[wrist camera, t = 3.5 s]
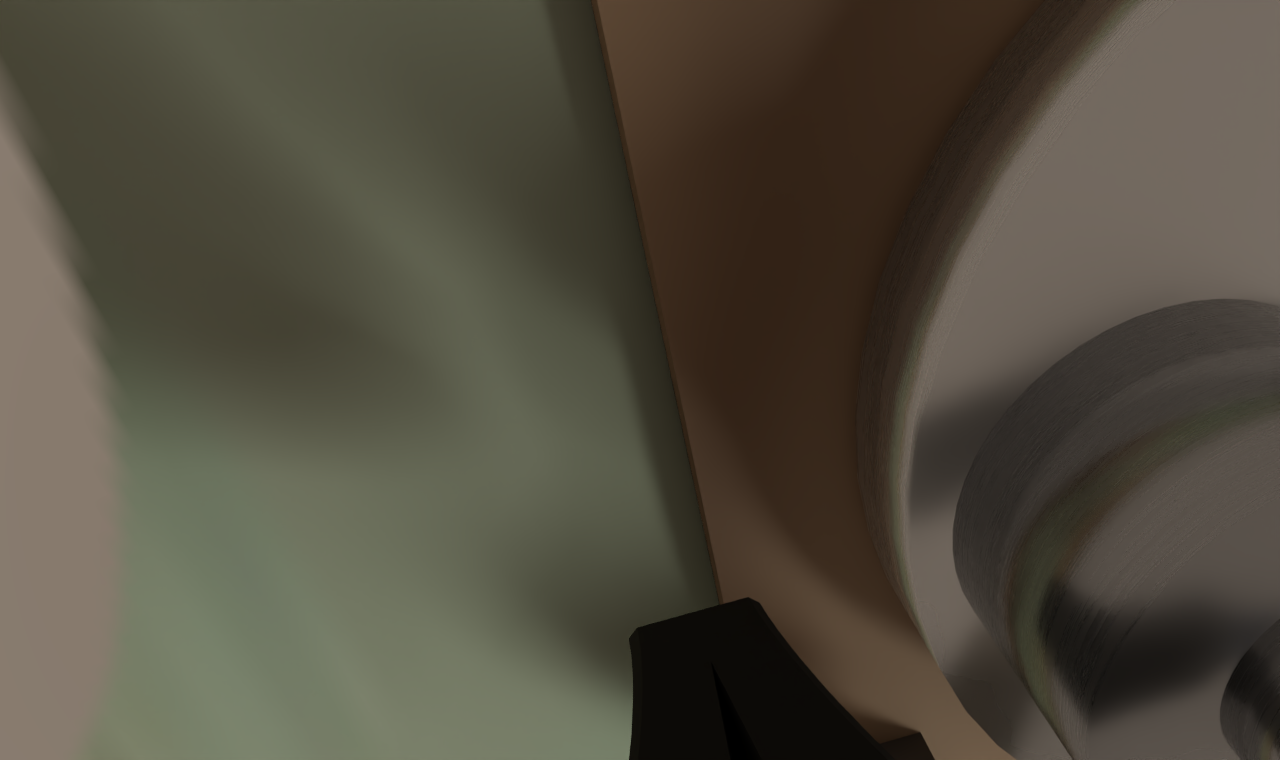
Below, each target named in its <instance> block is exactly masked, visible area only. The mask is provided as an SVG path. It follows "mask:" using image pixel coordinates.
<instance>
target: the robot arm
mask: <svg viewBox="0 0 1280 760" xmlns="http://www.w3.org/2000/svg"><path fill="white" fill-rule="evenodd" d="M629 643H630V649H631V655H632V668H633V715H632V736H631V746H630V756H629V760H895V759H894V758H893V757H892V756H891V755H890V754H889V753H888V752H887V751H886V750H885V749H884V748H883V747H882V746H881V745H880V744H879V743H878V742H877V741H876V740H875V739H874V738H873V737H872V736H871V735H870V734H869V733H868V732H867V731H866V730H865V729H864V728H863V727H862V726H861V725H860V724H859V722H858V721H857V720H856V719H855V718H854V717H853V716H852V715H851V714H850V713H849V712H848V711H847V710H846V709H845V708H844V707H843V706H842V705H841V704H840V703H839V702H838V701H837V700H836V699H835V697H834V696H833V695H832V694H831V693H830V692H829V691H828V690H827V689H826V688H825V686H824V685H823V684H822V683H821V682H820V681H819V680H818V678H817V677H816V676H815V675H814V674H813V673H812V671H811V670H810V669H809V668H808V667H807V666H806V664H805V663H804V662H803V661H802V660H801V658H800V657H799V656H798V655H797V654H796V652H795V651H794V650H793V649H792V647H791V646H790V645H789V644H788V642H787V641H786V640H785V638H784V637H783V636H782V634H781V633H780V632H779V631H778V629H777V628H776V626H775V625H774V624H773V622H772V621H771V619H770V618H769V616H768V615H767V613H766V612H765V610H764V609H763V607H762V606H761V604H760V603H759V602H757V601H755V600H753V599H751V598H749V597H746V598H743V599H739V600H735V601H732V602H728V603H725V604H721V605H717V606H714V607H710V608H707V609H703V610H699V611H696V612H692V613H689V614H685V615H681V616H678V617H674V618H671V619H667V620H664V621H660V622H656V623H653V624H649V625H646V626H642V627H638V628H637V629H636V630H635V631H634V633H633V634H632V635H631V637H630V638H629Z"/></svg>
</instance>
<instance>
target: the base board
mask: <svg viewBox="0 0 1280 760" xmlns="http://www.w3.org/2000/svg"><path fill="white" fill-rule="evenodd" d="M1044 1H1045V0H591V2H592V7H593V12H594V16H595V21H596V26H597V30H598V35H599V40H600V45H601V49H602V54H603V59H604V63H605V68H606V73H607V77H608V82H609V87H610V92H611V96H612V101H613V106H614V110H615V115H616V120H617V124H618V129H619V134H620V139H621V143H622V148H623V153H624V157H625V162H626V167H627V171H628V176H629V181H630V185H631V190H632V195H633V200H634V204H635V209H636V214H637V218H638V223H639V228H640V232H641V237H642V242H643V247H644V251H645V256H646V261H647V265H648V270H649V275H650V279H651V284H652V289H653V294H654V298H655V303H656V308H657V312H658V317H659V322H660V326H661V331H662V336H663V340H664V345H665V350H666V355H667V359H668V364H669V369H670V373H671V378H672V383H673V387H674V392H675V397H676V402H677V406H678V411H679V416H680V420H681V425H682V430H683V434H684V439H685V444H686V449H687V453H688V458H689V463H690V467H691V472H692V477H693V481H694V486H695V491H696V495H697V500H698V505H699V510H700V514H701V519H702V524H703V528H704V533H705V538H706V542H707V547H708V552H709V557H710V561H711V566H712V571H713V575H714V580H715V585H716V589H717V594H718V599H719V604H720V605H721V604H725V603H728V602H732V601H735V600H739V599H743V598H746V597H749V598H751V599H753V600H755V601H757V602H759V603H760V604H761V606H762V607H763V609H764V610H765V612H766V613H767V615H768V616H769V618H770V619H771V621H772V622H773V624H774V625H775V626H776V628H777V629H778V631H779V632H780V633H781V634H782V636H783V637H784V638H785V640H786V641H787V642H788V644H789V645H790V646H791V647H792V649H793V650H794V651H795V652H796V654H797V655H798V656H799V657H800V658H801V660H802V661H803V662H804V663H805V664H806V666H807V667H808V668H809V669H810V670H811V671H812V673H813V674H814V675H815V676H816V677H817V678H818V680H819V681H820V682H821V683H822V684H823V685H824V686H825V688H826V689H827V690H828V691H829V692H830V693H831V694H832V695H833V696H834V697H835V699H836V700H837V701H838V702H839V703H840V704H841V705H842V706H843V707H844V708H845V709H846V710H847V711H848V712H849V713H850V714H851V715H852V716H853V717H854V718H855V719H856V720H857V721H858V722H859V724H860V725H861V726H862V727H863V728H864V729H865V730H866V731H867V732H868V733H869V734H870V735H871V736H872V737H873V738H874V739H875V740H876V741H877V742H878V743H879V744H880V745H881V746H882V747H883V748H884V749H885V750H886V751H887V752H888V753H889V754H890V755H891V756H892V757H893V758H894V759H895V760H1017V759H1015V758H1014V757H1012V756H1011V755H1010V754H1008V753H1007V752H1006V751H1004V750H1003V749H1002V748H1000V747H999V746H998V745H997V744H996V743H995V742H994V741H993V740H992V739H991V738H990V737H989V735H988V734H987V733H986V732H985V731H984V730H983V729H982V728H981V727H980V726H979V725H978V724H977V722H976V721H975V720H974V719H973V718H972V717H971V716H970V715H969V714H968V713H967V712H966V710H965V709H964V707H963V705H962V704H961V702H960V701H959V699H958V697H957V696H956V694H955V692H954V691H953V689H952V688H951V686H950V684H949V683H948V681H947V679H946V678H945V676H944V675H943V673H942V671H941V670H940V668H939V666H938V665H937V663H936V661H935V659H934V658H933V656H932V654H931V653H930V651H929V649H928V647H927V646H926V644H925V642H924V641H923V639H922V637H921V635H920V634H919V632H918V630H917V629H916V627H915V625H914V623H913V622H912V620H911V618H910V617H909V615H908V613H907V611H906V610H905V608H904V606H903V605H902V603H901V601H900V599H899V598H898V596H897V594H896V593H895V591H894V589H893V587H892V586H891V584H890V582H889V581H888V579H887V577H886V574H885V572H884V569H883V567H882V564H881V562H880V559H879V556H878V554H877V551H876V549H875V546H874V544H873V541H872V538H871V536H870V533H869V531H868V526H867V521H866V517H865V512H864V507H863V502H862V497H861V492H860V487H859V482H858V477H857V454H856V429H855V412H856V403H857V393H858V384H859V375H860V365H861V356H862V349H863V345H864V341H865V337H866V333H867V329H868V325H869V321H870V317H871V313H872V309H873V305H874V301H875V296H876V292H877V288H878V284H879V281H880V278H881V276H882V273H883V270H884V268H885V265H886V262H887V260H888V257H889V255H890V252H891V249H892V247H893V244H894V241H895V239H896V236H897V234H898V231H899V228H900V226H901V223H902V221H903V218H904V215H905V213H906V210H907V208H908V206H909V204H910V202H911V200H912V198H913V196H914V194H915V192H916V191H917V189H918V187H919V185H920V183H921V181H922V179H923V177H924V175H925V173H926V171H927V169H928V167H929V166H930V164H931V162H932V160H933V158H934V156H935V154H936V152H937V150H938V148H939V146H940V144H941V142H942V140H943V139H944V137H945V135H946V133H947V132H948V130H949V129H950V127H951V126H952V124H953V123H954V121H955V120H956V118H957V117H958V115H959V114H960V112H961V111H962V109H963V108H964V106H965V105H966V103H967V102H968V100H969V99H970V97H971V96H972V94H973V93H974V91H975V90H976V88H977V87H978V85H979V84H980V82H981V81H982V79H983V78H984V76H985V75H986V73H987V72H988V70H989V69H990V67H991V66H992V64H993V63H994V61H995V60H996V59H997V57H998V56H999V55H1000V54H1001V52H1002V51H1003V50H1004V49H1005V48H1006V46H1007V45H1008V44H1009V43H1010V42H1011V40H1012V39H1013V38H1014V37H1015V36H1016V34H1017V33H1018V32H1019V31H1020V30H1021V28H1022V27H1023V26H1024V25H1025V24H1026V22H1027V21H1028V20H1029V19H1030V18H1031V16H1032V15H1033V14H1034V13H1035V12H1036V10H1037V9H1038V8H1039V7H1040V6H1041V4H1042V3H1043V2H1044Z"/></svg>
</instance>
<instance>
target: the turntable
mask: <svg viewBox="0 0 1280 760" xmlns="http://www.w3.org/2000/svg"><path fill="white" fill-rule="evenodd" d="M1211 299H1241V300H1252V301H1257V302H1262V303H1267V304H1272V305H1275V306H1278V307H1280V0H1045V1H1044V2H1043V3H1042V4H1041V6H1040V7H1039V8H1038V9H1037V10H1036V12H1035V13H1034V14H1033V15H1032V16H1031V18H1030V19H1029V20H1028V21H1027V22H1026V24H1025V25H1024V26H1023V27H1022V28H1021V30H1020V31H1019V32H1018V33H1017V34H1016V36H1015V37H1014V38H1013V39H1012V40H1011V42H1010V43H1009V44H1008V45H1007V46H1006V48H1005V49H1004V50H1003V51H1002V52H1001V54H1000V55H999V56H998V57H997V59H996V60H995V61H994V63H993V64H992V66H991V67H990V69H989V70H988V72H987V73H986V75H985V76H984V78H983V79H982V81H981V82H980V84H979V85H978V87H977V88H976V90H975V91H974V93H973V94H972V96H971V97H970V99H969V100H968V102H967V103H966V105H965V106H964V108H963V109H962V111H961V112H960V114H959V115H958V117H957V118H956V120H955V121H954V123H953V124H952V126H951V127H950V129H949V130H948V132H947V133H946V135H945V137H944V139H943V140H942V142H941V144H940V146H939V148H938V150H937V152H936V154H935V156H934V158H933V160H932V162H931V164H930V166H929V167H928V169H927V171H926V173H925V175H924V177H923V179H922V181H921V183H920V185H919V187H918V189H917V191H916V192H915V194H914V196H913V198H912V200H911V202H910V204H909V206H908V208H907V210H906V213H905V215H904V218H903V221H902V223H901V226H900V228H899V231H898V234H897V236H896V239H895V241H894V244H893V247H892V249H891V252H890V255H889V257H888V260H887V262H886V265H885V268H884V270H883V273H882V276H881V278H880V281H879V284H878V288H877V292H876V296H875V301H874V305H873V309H872V313H871V317H870V321H869V325H868V329H867V333H866V337H865V341H864V345H863V349H862V356H861V365H860V375H859V384H858V393H857V403H856V412H855V429H856V454H857V477H858V482H859V487H860V492H861V497H862V502H863V507H864V512H865V517H866V521H867V526H868V531H869V533H870V536H871V538H872V541H873V544H874V546H875V549H876V551H877V554H878V556H879V559H880V562H881V564H882V567H883V569H884V572H885V574H886V577H887V579H888V581H889V582H890V584H891V586H892V587H893V589H894V591H895V593H896V594H897V596H898V598H899V599H900V601H901V603H902V605H903V606H904V608H905V610H906V611H907V613H908V615H909V617H910V618H911V620H912V622H913V623H914V625H915V627H916V629H917V630H918V632H919V634H920V635H921V637H922V639H923V641H924V642H925V644H926V646H927V647H928V649H929V651H930V653H931V654H932V656H933V658H934V659H935V661H936V663H937V665H938V666H939V668H940V670H941V671H942V673H943V675H944V676H945V678H946V679H947V681H948V683H949V684H950V686H951V688H952V689H953V691H954V692H955V694H956V696H957V697H958V699H959V701H960V702H961V704H962V705H963V707H964V709H965V710H966V712H967V713H968V714H969V715H970V716H971V717H972V718H973V719H974V720H975V721H976V722H977V724H978V725H979V726H980V727H981V728H982V729H983V730H984V731H985V732H986V733H987V734H988V735H989V737H990V738H991V739H992V740H993V741H994V742H995V743H996V744H997V745H998V746H999V747H1000V748H1002V749H1003V750H1004V751H1006V752H1007V753H1008V754H1010V755H1011V756H1012V757H1014V758H1015V759H1017V760H1072V758H1071V757H1070V755H1069V754H1068V752H1067V751H1066V749H1065V748H1064V746H1063V745H1062V743H1061V742H1060V740H1059V739H1058V737H1057V736H1056V734H1055V733H1054V731H1053V730H1052V728H1051V727H1050V725H1049V724H1048V722H1047V721H1046V719H1045V718H1044V716H1043V714H1042V713H1041V711H1040V710H1039V708H1038V707H1037V705H1036V704H1035V702H1034V701H1033V699H1032V698H1031V696H1030V695H1029V693H1028V692H1027V690H1026V689H1025V687H1024V686H1023V684H1022V683H1021V681H1020V680H1019V678H1018V677H1017V675H1016V674H1015V672H1014V671H1013V669H1012V668H1011V666H1010V665H1009V663H1008V662H1007V660H1006V659H1005V657H1004V656H1003V654H1002V653H1001V651H1000V650H999V648H998V647H997V645H996V644H995V642H994V641H993V639H992V638H991V636H990V635H989V633H988V632H987V630H986V629H985V627H984V626H983V624H982V623H981V621H980V620H979V618H978V617H977V615H976V614H975V612H974V611H973V609H972V607H971V606H970V604H969V602H968V600H967V599H966V597H965V595H964V593H963V592H962V589H961V586H960V583H959V580H958V577H957V574H956V571H955V564H954V558H953V525H954V519H955V512H956V506H957V503H958V499H959V496H960V493H961V490H962V487H963V483H964V480H965V478H966V476H967V474H968V472H969V469H970V467H971V465H972V463H973V461H974V458H975V456H976V455H977V453H978V451H979V450H980V448H981V446H982V445H983V443H984V441H985V440H986V438H987V436H988V435H989V433H990V431H991V430H992V429H993V427H994V426H995V425H996V424H997V422H998V421H999V420H1000V418H1001V417H1002V416H1003V414H1004V413H1005V412H1006V410H1007V409H1008V408H1009V407H1010V406H1011V405H1012V404H1013V402H1014V401H1015V400H1016V399H1017V398H1018V397H1019V396H1020V395H1021V394H1022V393H1023V392H1024V391H1025V390H1026V389H1027V388H1028V386H1029V385H1030V384H1032V383H1033V382H1034V381H1035V380H1036V379H1037V378H1038V377H1040V376H1041V375H1042V374H1043V373H1044V372H1045V371H1046V370H1048V369H1049V368H1050V367H1051V366H1052V365H1053V364H1055V363H1056V362H1057V361H1059V360H1060V359H1062V358H1063V357H1064V356H1066V355H1067V354H1069V353H1070V352H1071V351H1073V350H1074V349H1076V348H1077V347H1078V346H1080V345H1082V344H1083V343H1085V342H1087V341H1089V340H1090V339H1092V338H1094V337H1095V336H1097V335H1099V334H1101V333H1102V332H1104V331H1106V330H1108V329H1110V328H1112V327H1114V326H1116V325H1119V324H1121V323H1123V322H1125V321H1128V320H1130V319H1132V318H1134V317H1137V316H1140V315H1143V314H1146V313H1149V312H1152V311H1155V310H1158V309H1161V308H1164V307H1168V306H1173V305H1177V304H1182V303H1187V302H1192V301H1200V300H1211Z"/></svg>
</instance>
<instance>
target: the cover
mask: <svg viewBox="0 0 1280 760" xmlns="http://www.w3.org/2000/svg"><path fill="white" fill-rule="evenodd" d="M953 558H954V564H955V571H956V574H957V577H958V580H959V583H960V586H961V589H962V592H963V593H964V595H965V597H966V599H967V600H968V602H969V604H970V606H971V607H972V609H973V611H974V612H975V614H976V615H977V617H978V618H979V620H980V621H981V623H982V624H983V626H984V627H985V629H986V630H987V632H988V633H989V635H990V636H991V638H992V639H993V641H994V642H995V644H996V645H997V647H998V648H999V650H1000V651H1001V653H1002V654H1003V656H1004V657H1005V659H1006V660H1007V662H1008V663H1009V665H1010V666H1011V668H1012V669H1013V671H1014V672H1015V674H1016V675H1017V677H1018V678H1019V680H1020V681H1021V683H1022V684H1023V686H1024V687H1025V689H1026V690H1027V692H1028V693H1029V695H1030V696H1031V698H1032V699H1033V701H1034V702H1035V704H1036V705H1037V707H1038V708H1039V710H1040V711H1041V713H1042V714H1043V716H1044V718H1045V719H1046V721H1047V722H1048V724H1049V725H1050V727H1051V728H1052V730H1053V731H1054V733H1055V734H1056V736H1057V737H1058V739H1059V740H1060V742H1061V743H1062V745H1063V746H1064V748H1065V749H1066V751H1067V752H1068V754H1069V755H1070V757H1071V758H1072V760H1280V307H1278V306H1275V305H1272V304H1267V303H1262V302H1257V301H1252V300H1241V299H1211V300H1200V301H1192V302H1187V303H1182V304H1177V305H1173V306H1168V307H1164V308H1161V309H1158V310H1155V311H1152V312H1149V313H1146V314H1143V315H1140V316H1137V317H1134V318H1132V319H1130V320H1128V321H1125V322H1123V323H1121V324H1119V325H1116V326H1114V327H1112V328H1110V329H1108V330H1106V331H1104V332H1102V333H1101V334H1099V335H1097V336H1095V337H1094V338H1092V339H1090V340H1089V341H1087V342H1085V343H1083V344H1082V345H1080V346H1078V347H1077V348H1076V349H1074V350H1073V351H1071V352H1070V353H1069V354H1067V355H1066V356H1064V357H1063V358H1062V359H1060V360H1059V361H1057V362H1056V363H1055V364H1053V365H1052V366H1051V367H1050V368H1049V369H1048V370H1046V371H1045V372H1044V373H1043V374H1042V375H1041V376H1040V377H1038V378H1037V379H1036V380H1035V381H1034V382H1033V383H1032V384H1030V385H1029V386H1028V388H1027V389H1026V390H1025V391H1024V392H1023V393H1022V394H1021V395H1020V396H1019V397H1018V398H1017V399H1016V400H1015V401H1014V402H1013V404H1012V405H1011V406H1010V407H1009V408H1008V409H1007V410H1006V412H1005V413H1004V414H1003V416H1002V417H1001V418H1000V420H999V421H998V422H997V424H996V425H995V426H994V427H993V429H992V430H991V431H990V433H989V435H988V436H987V438H986V440H985V441H984V443H983V445H982V446H981V448H980V450H979V451H978V453H977V455H976V456H975V458H974V461H973V463H972V465H971V467H970V469H969V472H968V474H967V476H966V478H965V480H964V483H963V487H962V490H961V493H960V496H959V499H958V503H957V506H956V512H955V519H954V525H953Z"/></svg>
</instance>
